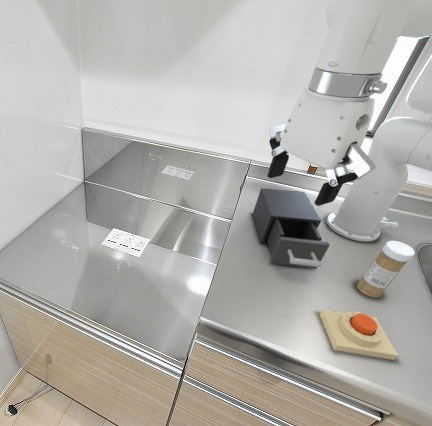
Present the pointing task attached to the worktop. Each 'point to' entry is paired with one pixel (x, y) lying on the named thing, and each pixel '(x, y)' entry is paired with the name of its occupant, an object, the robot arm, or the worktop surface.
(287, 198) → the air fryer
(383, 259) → the sprinkles bottle
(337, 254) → the worktop surface
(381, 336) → the control pad
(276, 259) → the drawer
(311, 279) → the worktop surface
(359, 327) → the button
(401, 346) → the worktop surface
